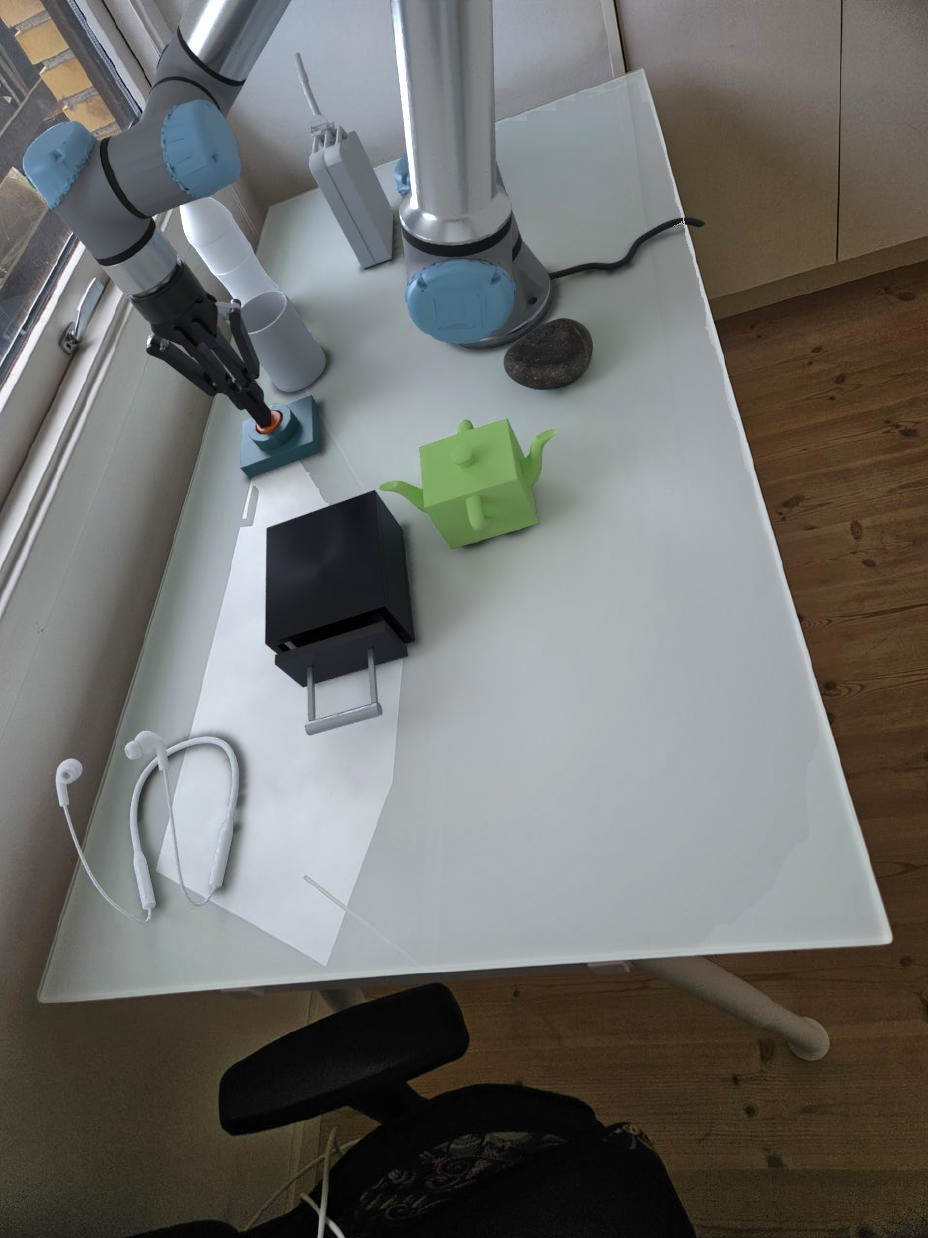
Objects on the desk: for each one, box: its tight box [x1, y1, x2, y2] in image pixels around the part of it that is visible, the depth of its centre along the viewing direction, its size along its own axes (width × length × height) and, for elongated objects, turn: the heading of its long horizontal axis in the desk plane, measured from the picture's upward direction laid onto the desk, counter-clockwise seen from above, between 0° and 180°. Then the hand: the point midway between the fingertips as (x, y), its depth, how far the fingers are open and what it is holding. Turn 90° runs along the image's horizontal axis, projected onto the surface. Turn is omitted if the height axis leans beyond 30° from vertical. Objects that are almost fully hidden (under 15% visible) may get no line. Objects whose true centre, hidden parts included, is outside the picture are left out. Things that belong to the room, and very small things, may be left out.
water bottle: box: [179, 195, 283, 307], centre depth 118 cm, size 7×7×25 cm
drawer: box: [274, 613, 409, 736], centre depth 87 cm, size 22×13×6 cm, turn 7°
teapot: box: [378, 417, 558, 550], centre depth 89 cm, size 15×13×11 cm
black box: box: [264, 489, 416, 655], centre depth 91 cm, size 16×14×8 cm
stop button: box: [257, 411, 283, 435], centre depth 109 cm, size 4×4×2 cm
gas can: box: [292, 52, 394, 269], centre depth 119 cm, size 15×5×25 cm, turn 1°
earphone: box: [55, 730, 240, 925], centre depth 84 cm, size 14×17×18 cm
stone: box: [503, 317, 594, 391], centre depth 99 cm, size 11×11×5 cm
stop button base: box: [239, 394, 322, 479], centre depth 111 cm, size 11×9×4 cm
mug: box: [241, 290, 327, 393], centre depth 115 cm, size 12×8×11 cm
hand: (266, 419), depth 109 cm, fingers closed
